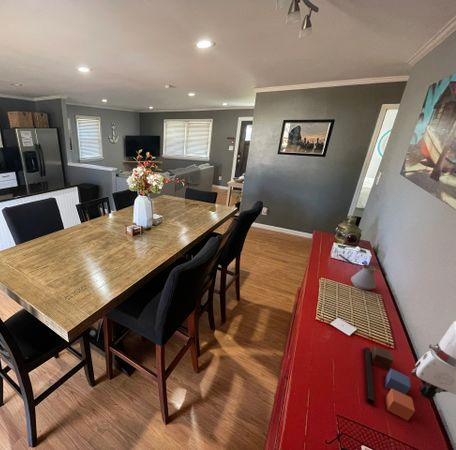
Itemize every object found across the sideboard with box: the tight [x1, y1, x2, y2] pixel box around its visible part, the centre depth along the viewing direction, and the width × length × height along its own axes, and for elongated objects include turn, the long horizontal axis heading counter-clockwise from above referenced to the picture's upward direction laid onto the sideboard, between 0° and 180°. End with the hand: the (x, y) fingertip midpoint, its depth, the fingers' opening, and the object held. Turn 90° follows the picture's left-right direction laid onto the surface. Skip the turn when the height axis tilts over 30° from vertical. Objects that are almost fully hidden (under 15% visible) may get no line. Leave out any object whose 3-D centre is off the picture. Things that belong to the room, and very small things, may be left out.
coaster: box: [329, 317, 358, 336], centre depth 111 cm, size 8×8×1 cm
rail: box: [363, 346, 375, 406], centre depth 89 cm, size 2×26×2 cm, turn 143°
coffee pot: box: [337, 253, 378, 291], centre depth 142 cm, size 21×12×15 cm, turn 42°
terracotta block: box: [385, 388, 416, 422], centre depth 78 cm, size 5×5×5 cm
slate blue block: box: [384, 368, 411, 395], centre depth 85 cm, size 5×5×5 cm
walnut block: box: [370, 345, 394, 371], centre depth 94 cm, size 5×5×5 cm
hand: (424, 394), depth 81 cm, fingers closed
